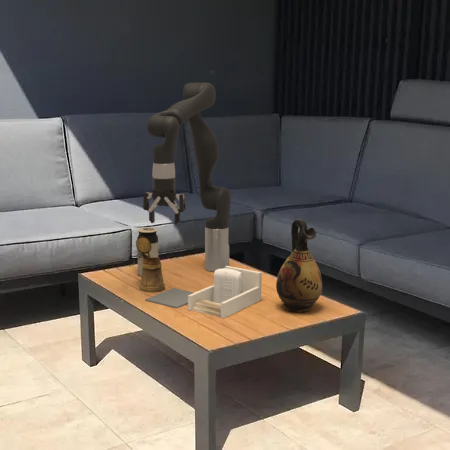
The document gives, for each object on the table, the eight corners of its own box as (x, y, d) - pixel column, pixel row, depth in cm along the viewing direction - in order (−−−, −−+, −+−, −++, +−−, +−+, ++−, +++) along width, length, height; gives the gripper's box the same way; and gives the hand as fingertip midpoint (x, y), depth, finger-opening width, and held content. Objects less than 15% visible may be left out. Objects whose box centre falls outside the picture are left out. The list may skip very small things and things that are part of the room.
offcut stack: (201, 307, 242) (201, 299, 241) (228, 313, 236) (228, 305, 236) (192, 311, 238) (192, 303, 237) (220, 318, 232) (220, 309, 232)
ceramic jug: (330, 312, 238) (333, 223, 231) (288, 317, 232) (291, 227, 225) (305, 297, 253) (308, 213, 247) (265, 302, 247) (267, 217, 241)
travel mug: (154, 270, 284) (154, 226, 280) (161, 276, 277) (160, 230, 273) (135, 272, 281) (134, 228, 277) (141, 278, 274) (140, 232, 270)
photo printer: (244, 303, 245) (244, 269, 243) (239, 307, 241) (240, 272, 239) (216, 300, 249) (216, 265, 246) (211, 303, 245) (211, 268, 242)
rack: (226, 292, 257) (227, 265, 255) (261, 300, 249) (261, 272, 247) (188, 309, 239) (187, 280, 237) (223, 318, 231) (223, 288, 229)
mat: (174, 289, 261) (174, 287, 260) (205, 296, 253) (205, 294, 253) (145, 300, 248) (145, 299, 248) (177, 308, 240) (177, 306, 240)
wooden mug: (152, 280, 271) (151, 234, 267) (169, 289, 260) (168, 241, 256) (130, 284, 266) (129, 237, 262) (147, 293, 255) (146, 244, 251)
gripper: (187, 175, 242) (187, 222, 246) (147, 173, 245) (148, 219, 249) (181, 178, 235) (181, 226, 239) (139, 176, 238) (140, 224, 242)
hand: (164, 223), depth 244 cm, fingers open, 8 cm apart
